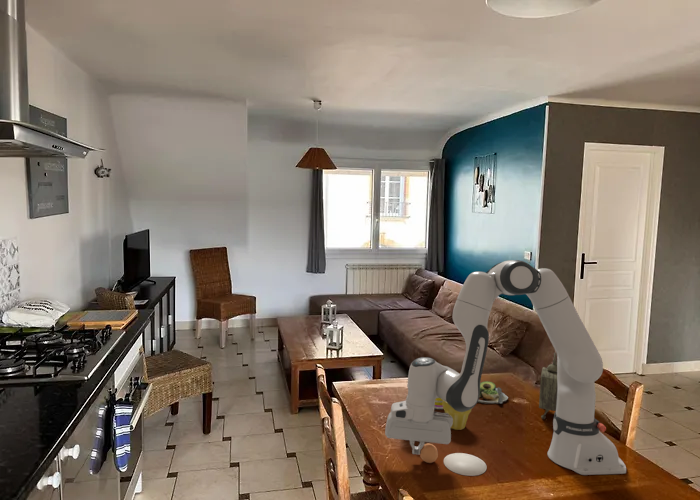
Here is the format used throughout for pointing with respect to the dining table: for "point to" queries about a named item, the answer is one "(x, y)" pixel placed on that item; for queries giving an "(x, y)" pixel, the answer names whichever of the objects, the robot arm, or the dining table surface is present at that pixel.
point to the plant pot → (456, 416)
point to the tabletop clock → (548, 388)
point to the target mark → (465, 464)
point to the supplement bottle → (438, 403)
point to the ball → (429, 453)
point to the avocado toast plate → (491, 393)
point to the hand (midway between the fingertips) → (416, 453)
